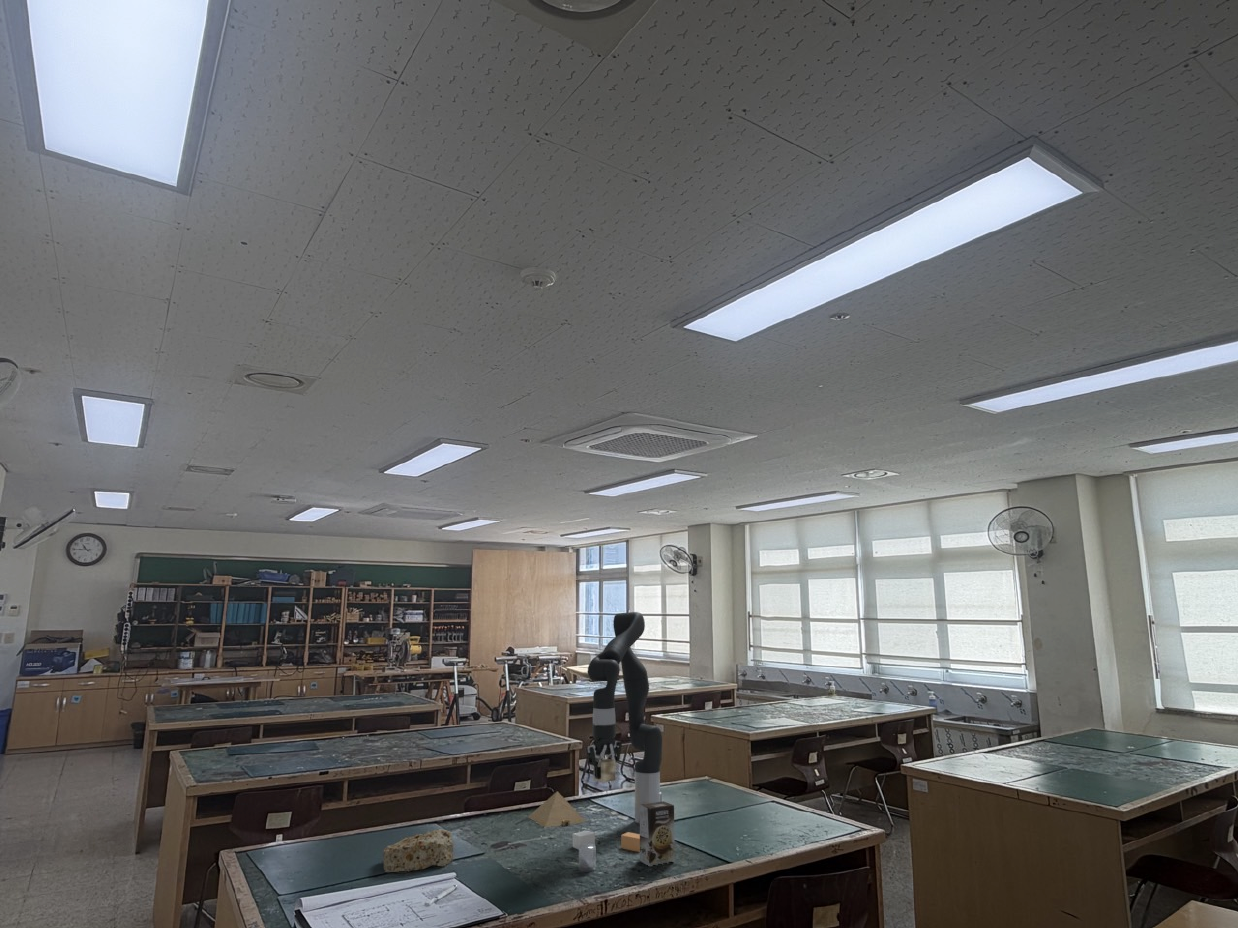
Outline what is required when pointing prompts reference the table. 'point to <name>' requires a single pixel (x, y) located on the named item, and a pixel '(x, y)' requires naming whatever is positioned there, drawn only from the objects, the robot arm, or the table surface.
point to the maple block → (607, 771)
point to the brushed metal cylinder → (587, 857)
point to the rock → (419, 852)
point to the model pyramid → (556, 812)
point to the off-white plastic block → (583, 838)
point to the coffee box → (656, 833)
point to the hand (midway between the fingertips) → (604, 776)
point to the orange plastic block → (630, 841)
